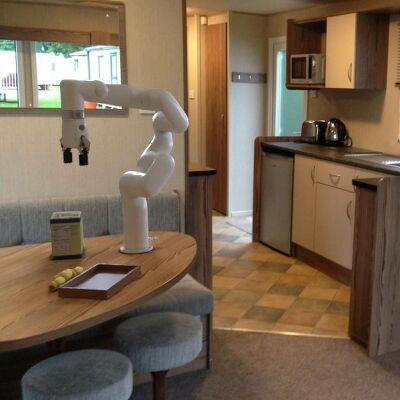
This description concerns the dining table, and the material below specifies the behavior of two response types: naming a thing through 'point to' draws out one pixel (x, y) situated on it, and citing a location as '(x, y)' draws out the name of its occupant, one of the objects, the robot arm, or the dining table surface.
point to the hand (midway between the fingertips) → (75, 164)
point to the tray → (99, 281)
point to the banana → (64, 277)
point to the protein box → (66, 234)
